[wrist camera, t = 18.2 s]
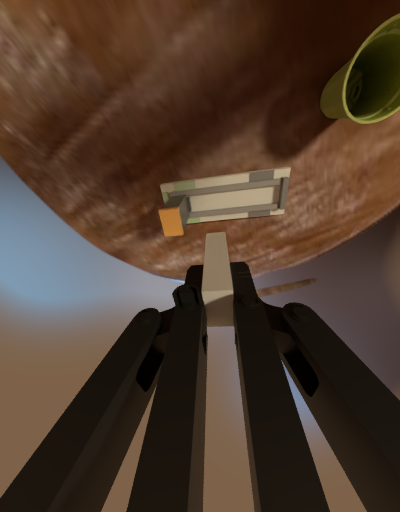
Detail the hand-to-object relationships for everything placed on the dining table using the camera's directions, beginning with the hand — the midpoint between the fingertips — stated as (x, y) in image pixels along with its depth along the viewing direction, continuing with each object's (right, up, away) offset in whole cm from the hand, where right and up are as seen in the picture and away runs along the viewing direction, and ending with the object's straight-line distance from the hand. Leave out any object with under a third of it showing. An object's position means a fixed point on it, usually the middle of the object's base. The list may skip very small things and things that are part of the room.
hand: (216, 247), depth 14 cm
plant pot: (+22, +26, +13) cm, 36 cm away
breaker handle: (-5, +11, +23) cm, 26 cm away
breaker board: (+4, +12, +23) cm, 27 cm away
